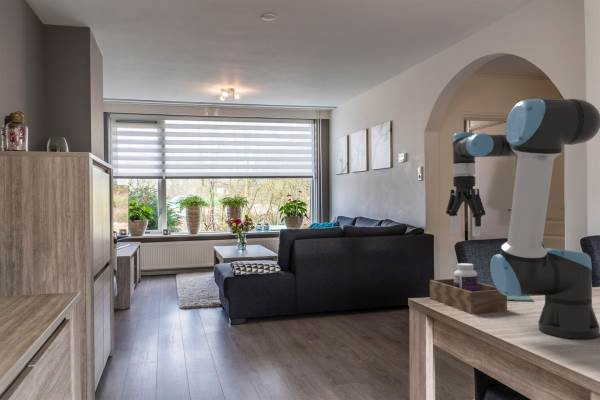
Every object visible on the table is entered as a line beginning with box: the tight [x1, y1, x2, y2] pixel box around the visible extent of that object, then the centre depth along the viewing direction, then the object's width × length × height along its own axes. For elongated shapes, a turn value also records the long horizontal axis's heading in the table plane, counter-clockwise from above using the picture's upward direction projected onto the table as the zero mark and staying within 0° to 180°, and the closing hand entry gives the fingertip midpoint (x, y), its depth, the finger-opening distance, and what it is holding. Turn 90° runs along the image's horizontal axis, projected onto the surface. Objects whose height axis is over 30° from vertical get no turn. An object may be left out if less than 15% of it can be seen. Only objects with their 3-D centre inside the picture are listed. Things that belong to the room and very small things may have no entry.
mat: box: [507, 296, 534, 302], centre depth 184 cm, size 14×14×1 cm
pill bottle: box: [453, 262, 478, 292], centre depth 173 cm, size 8×8×14 cm
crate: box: [429, 278, 508, 314], centre depth 173 cm, size 26×14×7 cm, turn 15°
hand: (464, 234), depth 173 cm, fingers open, 13 cm apart
